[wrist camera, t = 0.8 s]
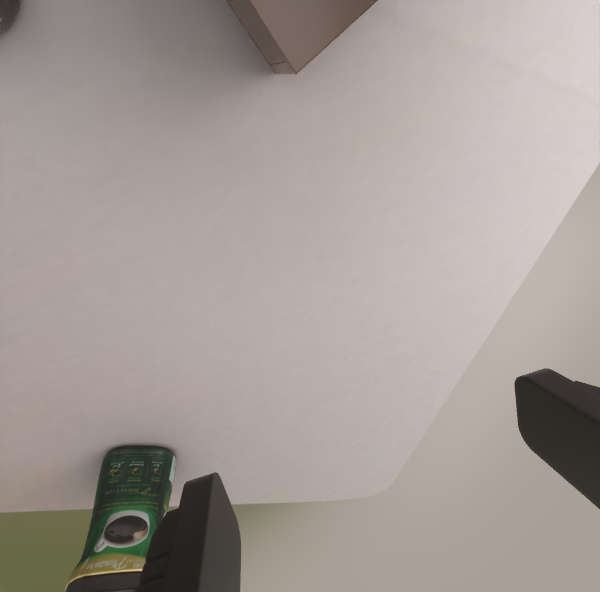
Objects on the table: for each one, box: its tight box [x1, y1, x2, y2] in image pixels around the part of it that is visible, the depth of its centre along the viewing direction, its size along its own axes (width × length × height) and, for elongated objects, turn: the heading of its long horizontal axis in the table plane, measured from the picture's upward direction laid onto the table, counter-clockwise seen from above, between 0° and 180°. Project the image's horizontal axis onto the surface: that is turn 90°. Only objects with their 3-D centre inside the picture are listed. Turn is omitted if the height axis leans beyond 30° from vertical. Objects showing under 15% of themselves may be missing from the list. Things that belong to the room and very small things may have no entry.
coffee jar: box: [65, 447, 176, 592], centre depth 42 cm, size 10×8×19 cm
